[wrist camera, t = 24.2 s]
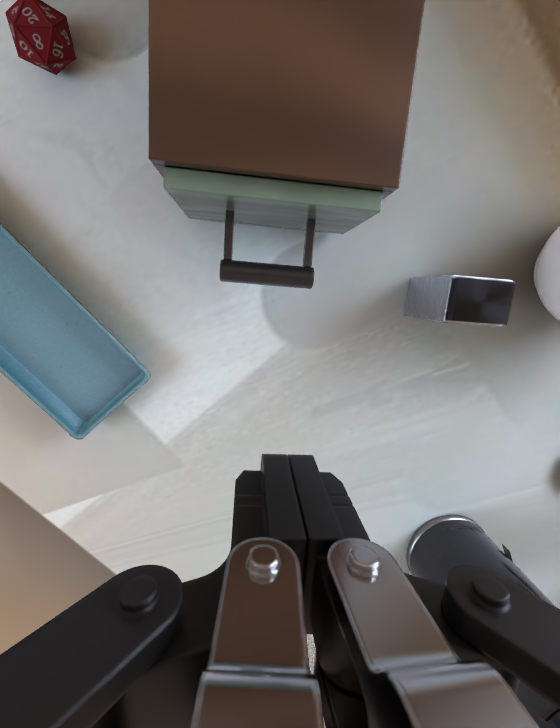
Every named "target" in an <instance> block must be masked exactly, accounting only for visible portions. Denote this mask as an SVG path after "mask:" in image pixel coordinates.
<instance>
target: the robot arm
mask: <svg viewBox="0 0 560 728" xmlns="http://www.w3.org/2000/svg"><path fill="white" fill-rule="evenodd" d="M502 545H503V544H502ZM503 549H504V552H505V554H504V553H503V552H502V551H501V550H500V549H499V548H498V547H497V546H496V544H495V543H494V542H493V541H492V540H491V539H490V538H489V537H488V536H487V535H486V534H485V533H484V531H483V530H482V529H481V528H480V527H479V526H478V525H477V524H476V523H475V522H474V521H473V520H471V519H469V518H467V517H464V516H459V515H447V516H442V517H438V518H436V519H433V520H431V521H430V522H428V523H426V524H425V525H424V526H422V527H421V528H420V529H419V530H418V531H417V532H416V533H415V535H414V536H413V538H412V539H411V541H410V543H409V546H408V550H407V564H408V567H409V569H410V571H411V573H412V575H413V576H412V575H409V574H407V573H404V572H403V571H402V569H401V568H400V566H399V564H398V563H397V561H396V560H395V559H394V557H393V556H392V555H391V554H390V553H389V552H388V551H387V550H385V549H384V548H383V547H381V546H380V545H378V544H376V543H374V542H371V541H370V539H369V537H368V535H367V533H366V531H365V529H364V527H363V525H362V523H361V521H360V518H359V516H358V514H357V512H356V510H355V508H354V507H353V506H352V502H351V500H350V498H349V497H348V494H347V492H346V490H345V488H344V486H343V483H342V482H341V481H340V480H338V479H337V478H336V477H335V476H334V475H333V474H331V473H327V472H319V470H318V467H317V465H316V462H315V460H314V457H313V455H288V456H287V455H285V454H262V458H261V470H260V471H246V470H244V471H243V472H242V473H241V474H240V476H239V477H238V478H237V479H236V483H235V498H234V513H233V528H232V542H231V550H230V553H229V555H228V557H227V559H226V560H225V562H224V563H223V564H222V565H221V566H220V567H219V568H217V569H216V570H215V571H213V572H212V573H210V574H208V575H206V576H203V577H200V578H197V579H194V580H190V581H187V582H183V583H182V582H181V580H180V578H179V577H178V575H177V574H176V573H174V572H173V571H172V570H170V569H168V568H166V567H163V566H158V565H142V566H138V567H134V568H131V569H128V570H126V571H123V572H121V573H119V574H118V575H116V576H114V577H113V578H111V579H110V580H109V581H107V582H106V583H104V584H103V585H101V586H100V587H98V588H97V589H96V590H94V591H92V592H91V593H90V594H88V595H87V596H85V597H84V598H82V599H81V600H79V601H78V602H76V603H75V604H74V605H72V606H71V607H69V608H68V609H66V610H65V611H63V612H62V613H61V614H59V615H58V616H56V617H55V618H53V619H52V620H50V621H49V622H48V623H46V624H44V625H43V626H42V627H40V628H39V629H37V630H36V631H34V632H33V633H31V634H30V635H28V636H27V637H26V638H24V639H23V640H21V641H20V642H18V643H17V644H15V645H14V646H12V647H11V648H9V649H8V650H7V651H5V652H4V653H2V654H1V655H0V728H324V722H325V726H326V728H560V609H558V608H557V607H556V606H555V605H554V604H553V603H552V602H551V601H550V600H549V599H548V598H547V597H546V596H545V595H544V594H543V593H542V592H541V591H540V590H539V589H538V588H537V587H536V586H535V585H534V584H533V583H532V582H531V581H530V579H529V578H528V577H527V576H526V575H525V574H524V573H523V572H522V571H521V570H520V569H519V568H518V567H517V566H516V565H515V564H514V563H513V561H512V558H511V554H510V551H509V550H508V549H507V548H506V547H505V546H504V545H503ZM306 634H313V637H314V643H315V648H316V651H315V659H314V674H311V673H310V667H309V658H308V647H307V636H306ZM323 718H324V720H323Z"/></svg>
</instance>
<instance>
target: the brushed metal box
mask: <svg viewBox="0 0 560 728" xmlns="http://www.w3.org/2000/svg"><path fill="white" fill-rule="evenodd" d="M515 285H516V282H513V280H507V279H496V278H485V277H474V276H464V275H453V274H452V275H439V276H426V277H413V278H409V283H408V290H407V296H406V303H405V310H404V316H408V317H414V318H420V319H427V320H433V321H439V322H446V323H459V324H472V325H485V326H498V327H502V326H503V325H507V322H508V317H509V312H510V308H511V303H512V299H513V294H514V289H515Z"/></svg>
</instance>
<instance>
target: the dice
mask: <svg viewBox="0 0 560 728" xmlns="http://www.w3.org/2000/svg"><path fill="white" fill-rule="evenodd" d="M5 13H6V16H7V20H8V23H9V26H10V30H11V33H12V36H13V40H14V43H15V46H16V50H17V53H18V57H20V58H22V59H24V60H26V61H28V62H30V63H32V64H34V65H36V66H38V67H41V68H43V69H45V70H47V71H49V72H51V73H53V74H55V75H57V74H58V73H60V72H61V71H62V70H63V69H64V68H66V67H67V66H68V65H69V64H71V63H72V62H73V61H74V60H76V55H75V51H74V47H73V43H72V39H71V34H70V30H69V26H68V22H67V17H66V15H64V14H62V13H61V12H59V11H57V10H56V9H54V8H52V7H51V6H49V5H47V4H46V3H44V2H43V1H41V0H17V1H16V2H15V3H14V4H13V5H12V6H11V7H10V8H9V9H8V10H7V11H6V12H5Z"/></svg>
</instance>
